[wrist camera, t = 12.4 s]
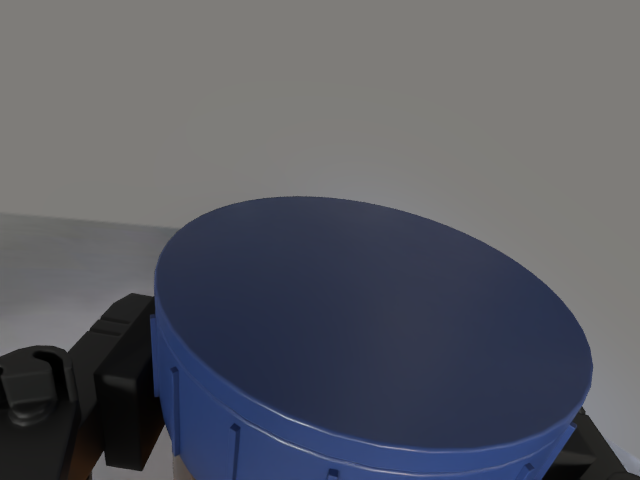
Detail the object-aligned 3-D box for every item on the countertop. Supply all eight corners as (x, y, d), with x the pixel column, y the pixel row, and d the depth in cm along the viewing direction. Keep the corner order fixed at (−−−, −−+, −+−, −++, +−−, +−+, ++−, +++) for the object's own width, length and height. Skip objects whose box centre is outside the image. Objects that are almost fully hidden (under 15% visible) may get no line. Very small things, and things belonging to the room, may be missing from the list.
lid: (269, 245, 13) (276, 177, 12) (507, 319, 11) (542, 245, 10) (46, 426, 6) (15, 301, 5) (593, 720, 4) (738, 617, 3)
